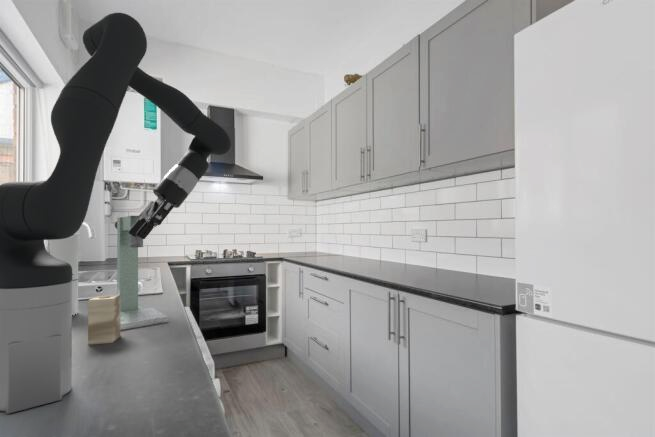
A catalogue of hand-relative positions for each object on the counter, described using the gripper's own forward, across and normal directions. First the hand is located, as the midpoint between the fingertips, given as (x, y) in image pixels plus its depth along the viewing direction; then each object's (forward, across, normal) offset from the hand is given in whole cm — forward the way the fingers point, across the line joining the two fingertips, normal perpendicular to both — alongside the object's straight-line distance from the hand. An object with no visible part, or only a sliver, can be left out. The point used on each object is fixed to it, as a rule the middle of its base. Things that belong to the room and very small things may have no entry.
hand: (135, 236), depth 86 cm
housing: (+23, +1, +9) cm, 25 cm away
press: (+19, -23, +18) cm, 34 cm away
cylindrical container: (+28, -39, +6) cm, 49 cm away
